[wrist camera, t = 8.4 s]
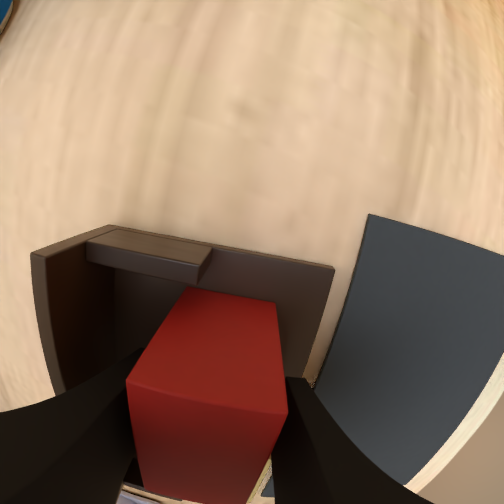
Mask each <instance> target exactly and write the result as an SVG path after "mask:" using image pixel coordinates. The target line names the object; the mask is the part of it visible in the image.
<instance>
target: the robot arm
mask: <svg viewBox="0 0 504 504" xmlns="http://www.w3.org/2000/svg"><path fill="white" fill-rule="evenodd" d="M145 349H146V348H142V347H140V348H139V349H137V350H136V351H134V352H132V353H131V354H129V355H128V356H126V357H125V358H123V359H122V360H120V361H119V362H117V363H116V364H114V365H112V366H111V367H109V368H108V369H106V370H104V371H103V372H101V373H99V374H98V375H96V376H95V377H93V378H91V379H89V380H88V381H86V382H84V383H82V384H80V385H78V386H76V387H74V388H72V389H70V390H68V391H66V392H64V393H62V394H60V395H57V396H55V397H53V398H50V399H47V400H45V401H42V402H39V403H36V404H33V405H29V406H26V407H22V408H18V409H14V410H10V411H6V412H0V504H115V503H116V500H117V497H118V494H119V490H120V487H121V484H122V481H123V479H124V476H125V474H126V471H127V469H128V467H129V465H130V463H131V461H132V459H133V457H134V455H135V453H136V449H135V443H134V438H133V432H132V426H131V419H130V412H129V404H128V396H127V387H126V379H127V377H128V376H129V374H130V372H131V371H132V369H133V368H134V366H135V364H136V363H137V361H138V360H139V358H140V357H141V355H142V353H143V352H144V350H145ZM285 386H286V395H287V404H288V415H287V418H286V420H285V422H284V425H283V427H282V429H281V432H280V434H279V436H278V439H277V441H276V443H275V445H274V448H273V450H272V452H271V463H272V474H273V485H274V496H275V504H434V503H432V502H430V501H428V500H426V499H424V498H422V497H420V496H419V495H417V494H415V493H413V492H412V491H410V490H409V489H407V488H406V487H404V486H403V485H401V484H400V483H398V482H397V481H395V480H394V479H393V478H391V477H390V476H389V475H387V474H386V473H385V472H384V471H382V470H381V469H380V468H379V467H378V466H377V465H376V464H374V463H373V462H372V461H371V460H370V459H369V458H368V457H367V456H366V455H365V454H364V453H363V452H362V451H361V450H360V449H359V448H358V447H357V446H356V445H355V444H354V443H353V442H352V441H351V439H350V438H349V437H348V436H347V435H346V434H345V433H344V431H343V430H342V429H341V428H340V426H339V425H338V424H337V423H336V421H335V420H334V419H333V417H332V416H331V415H330V413H329V412H328V411H327V409H326V408H325V407H324V405H323V404H322V402H321V401H320V399H319V398H318V397H317V395H316V394H315V392H314V391H313V389H312V388H311V386H310V385H309V383H308V382H307V381H306V379H305V378H298V377H289V376H286V378H285ZM116 504H160V503H158V502H156V501H152V500H149V499H145V498H142V497H139V496H136V495H133V494H130V493H127V492H124V491H122V490H121V493H120V495H119V498H118V501H117V503H116Z"/></svg>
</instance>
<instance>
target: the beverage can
mask: <svg viewBox="0 0 504 504" xmlns="http://www.w3.org/2000/svg"><path fill="white" fill-rule="evenodd" d="M12 2H13V0H0V34H1V32H2V31H3V29H4V27H5V25H6V23H7V21H8V19H9V17H10V15H11V12H12V8H13V3H12Z"/></svg>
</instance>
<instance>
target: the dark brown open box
mask: <svg viewBox="0 0 504 504" xmlns="http://www.w3.org/2000/svg"><path fill="white" fill-rule="evenodd" d="M30 260H31V275H32V286H33V295H34V303H35V310H36V316H37V322H38V328H39V333H40V338H41V343H42V348H43V352H44V356H45V361H46V365H47V368H48V372H49V376H50V379H51V383H52V386H53V389H54V392H55V396H57V395H60V394H62V393H64V392H66V391H68V390H70V389H72V388H74V387H76V386H78V385H80V384H82V383H84V382H86V381H88V380H89V379H91V378H93V377H95V376H96V375H98V374H99V373H101V372H103V371H104V370H106V369H108V368H109V367H111V366H112V365H114V364H116V363H117V362H119V361H120V360H122V359H123V358H125V357H126V356H128V355H129V354H131V353H132V352H134V351H136V350H137V349H139V348H140V347H142V348H146V347H147V346H148V344H149V343H150V341H151V339H152V338H153V336H154V335H155V333H156V332H157V330H158V329H159V327H160V326H161V324H162V323H163V321H164V320H165V318H166V317H167V315H168V314H169V312H170V310H171V309H172V307H173V306H174V305H175V303H176V302H177V300H178V299H179V297H180V296H181V294H182V293H183V291H184V290H185V288H186V287H187V286H189V287H194V288H199V289H204V290H209V291H214V292H219V293H224V294H229V295H235V296H240V297H245V298H251V299H256V300H262V301H268V302H274V303H275V304H276V311H277V319H278V327H279V335H280V344H281V352H282V360H283V369H284V378H286V376H289V377H298V378H301V377H302V374H303V372H304V369H305V366H306V363H307V360H308V358H309V355H310V352H311V349H312V346H313V343H314V340H315V337H316V334H317V331H318V328H319V325H320V321H321V318H322V315H323V312H324V308H325V305H326V302H327V298H328V295H329V291H330V288H331V284H332V281H333V277H334V274H335V269H334V268H333V267H332V266H327V265H322V264H316V263H311V262H306V261H300V260H295V259H290V258H284V257H279V256H274V255H268V254H263V253H258V252H252V251H247V250H242V249H236V248H231V247H226V246H220V245H215V244H210V243H204V242H199V241H194V240H188V239H183V238H178V237H172V236H167V235H161V234H156V233H151V232H145V231H140V230H135V229H129V228H124V227H119V226H113V225H106V226H103V227H100V228H97V229H94V230H91V231H89V232H86V233H83V234H80V235H77V236H74V237H71V238H68V239H66V240H63V241H60V242H57V243H55V244H52V245H49V246H47V247H44V248H41V249H39V250H36V251H34V252H31V254H30ZM123 485H127V486H130V487H132V488H135V489H138V490H142V491H145V492H148V493H151V494H155V495H158V496H162V497H166V498H170V499H174V500H178V501H182V499H178V498H174V497H170V496H166V495H162V494H159V493H155V492H152V491H148V490H146V489H144V485H143V481H142V477H141V472H140V468H139V463H138V459H137V454H136V453H135V455H134V457H133V459H132V461H131V463H130V465H129V467H128V469H127V471H126V474H125V476H124V479H123V481H122V484H121V487H120V490H119V494H118V497H117V500H116V503H117V501H118V498H119V495H120V493H121V490H122V488H123ZM116 503H115V504H116Z"/></svg>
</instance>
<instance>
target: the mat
mask: <svg viewBox="0 0 504 504" xmlns="http://www.w3.org/2000/svg"><path fill="white" fill-rule="evenodd" d="M503 352H504V256H502V255H500V254H497V253H494V252H492V251H489V250H486V249H483V248H480V247H477V246H475V245H472V244H469V243H466V242H463V241H460V240H457V239H454V238H451V237H448V236H444V235H441V234H438V233H435V232H432V231H428V230H425V229H422V228H418V227H415V226H412V225H408V224H405V223H401V222H398V221H394V220H390V219H387V218H383V217H379V216H375V215H372V214H368V219H367V223H366V227H365V231H364V236H363V240H362V244H361V248H360V251H359V255H358V259H357V263H356V266H355V270H354V274H353V277H352V280H351V284H350V287H349V291H348V294H347V297H346V300H345V304H344V307H343V310H342V313H341V316H340V319H339V322H338V325H337V328H336V331H335V334H334V336H333V339H332V342H331V345H330V348H329V350H328V353H327V356H326V358H325V361H324V364H323V366H322V369H321V371H320V374H319V376H318V379H317V381H316V384H315V386H314V389H313V391H314V392H315V394H316V395H317V397H318V398H319V399H320V401H321V402H322V404H323V405H324V407H325V408H326V409H327V411H328V412H329V413H330V415H331V416H332V417H333V419H334V420H335V421H336V423H337V424H338V425H339V426H340V428H341V429H342V430H343V431H344V433H345V434H346V435H347V436H348V437H349V438H350V439H351V441H352V442H353V443H354V444H355V445H356V446H357V447H358V448H359V449H360V450H361V451H362V452H363V453H364V454H365V455H366V456H367V457H368V458H369V459H370V460H371V461H372V462H373V463H374V464H376V465H377V466H378V467H379V468H380V469H381V470H382V471H384V472H385V473H386V474H387V475H389V476H390V477H391V478H393V479H394V480H395V481H397V482H398V483H400V484H401V485H406V484H407V483H408V482H409V481H410V480H411V479H412V478H413V477H414V476H415V475H416V474H417V473H418V472H419V471H420V470H421V469H422V468H423V467H424V466H425V465H426V464H427V463H428V462H429V461H430V459H431V458H432V457H433V456H434V455H435V454H436V453H437V452H438V450H439V449H440V448H441V447H442V446H443V445H444V443H445V442H446V441H447V440H448V438H449V437H450V436H451V435H452V433H453V432H454V431H455V430H456V428H457V427H458V426H459V424H460V423H461V422H462V420H463V419H464V417H465V416H466V415H467V413H468V412H469V410H470V409H471V407H472V406H473V404H474V403H475V401H476V400H477V398H478V397H479V395H480V394H481V392H482V390H483V389H484V387H485V385H486V384H487V382H488V380H489V379H490V377H491V375H492V373H493V372H494V370H495V368H496V366H497V364H498V362H499V360H500V358H501V356H502V354H503ZM261 497H275V496H274V485H273V474H272V476H271V478H270V480H269V481H268V483H267V485H266V487H265V488H264V490H263V492H262V494H261Z"/></svg>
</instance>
